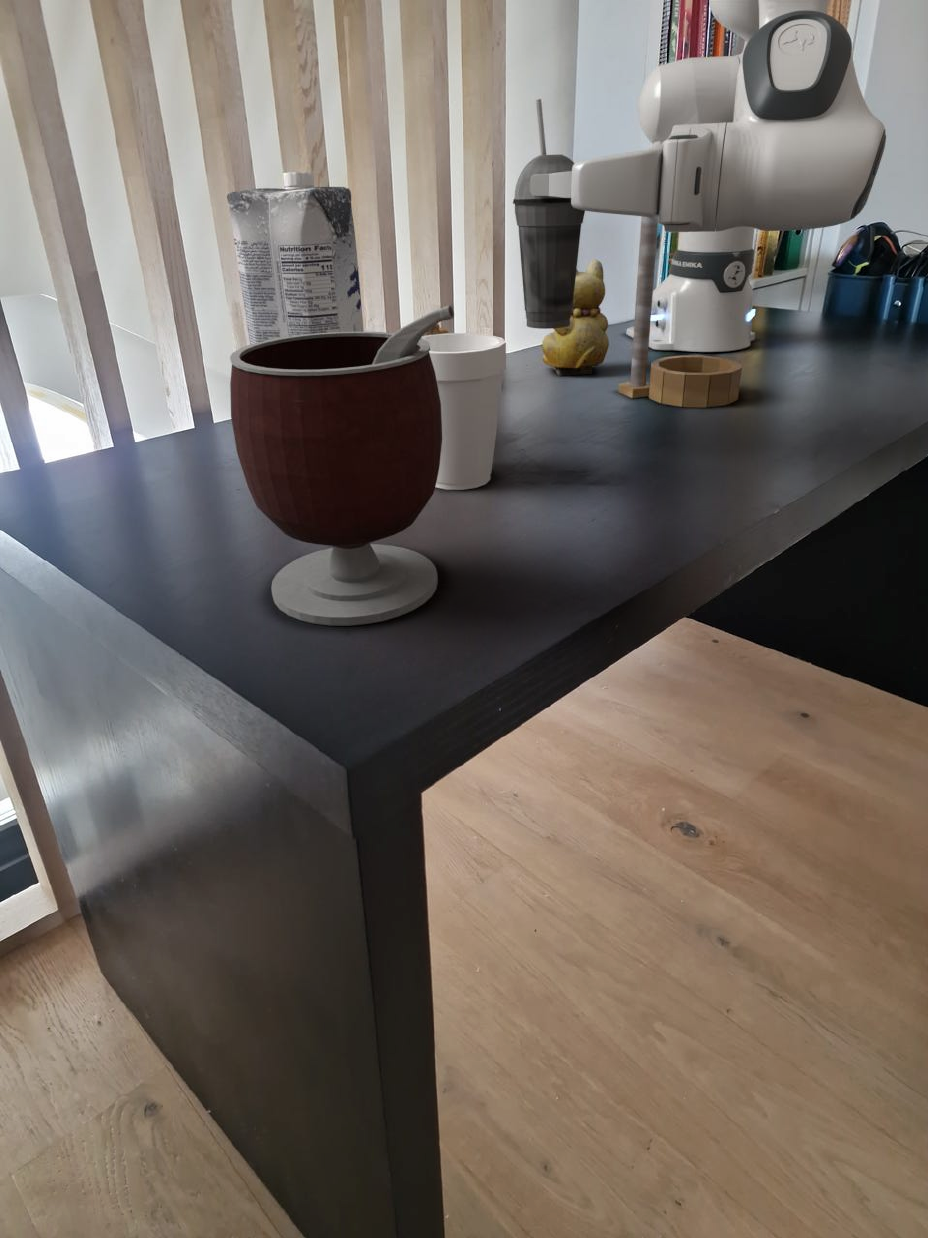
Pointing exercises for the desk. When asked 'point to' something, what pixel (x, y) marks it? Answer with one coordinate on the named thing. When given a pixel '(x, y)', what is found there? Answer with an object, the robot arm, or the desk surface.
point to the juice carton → (296, 259)
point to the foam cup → (467, 404)
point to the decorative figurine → (581, 328)
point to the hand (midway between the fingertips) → (540, 183)
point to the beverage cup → (547, 242)
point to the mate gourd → (342, 463)
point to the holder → (676, 375)
